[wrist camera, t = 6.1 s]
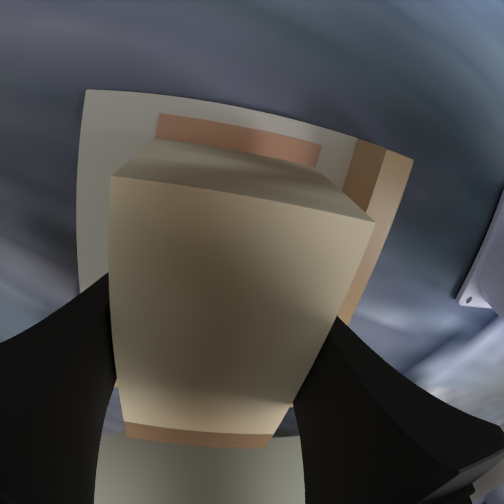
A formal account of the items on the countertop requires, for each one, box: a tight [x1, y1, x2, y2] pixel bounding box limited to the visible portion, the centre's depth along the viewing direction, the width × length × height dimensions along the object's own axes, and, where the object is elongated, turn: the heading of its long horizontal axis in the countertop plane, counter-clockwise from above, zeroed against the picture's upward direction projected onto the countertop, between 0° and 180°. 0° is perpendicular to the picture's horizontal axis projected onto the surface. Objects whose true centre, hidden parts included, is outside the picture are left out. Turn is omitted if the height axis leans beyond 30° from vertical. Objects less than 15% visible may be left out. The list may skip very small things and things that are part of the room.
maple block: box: [108, 138, 376, 448], centre depth 9 cm, size 5×9×4 cm, turn 167°
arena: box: [76, 89, 414, 407], centre depth 13 cm, size 12×13×3 cm
